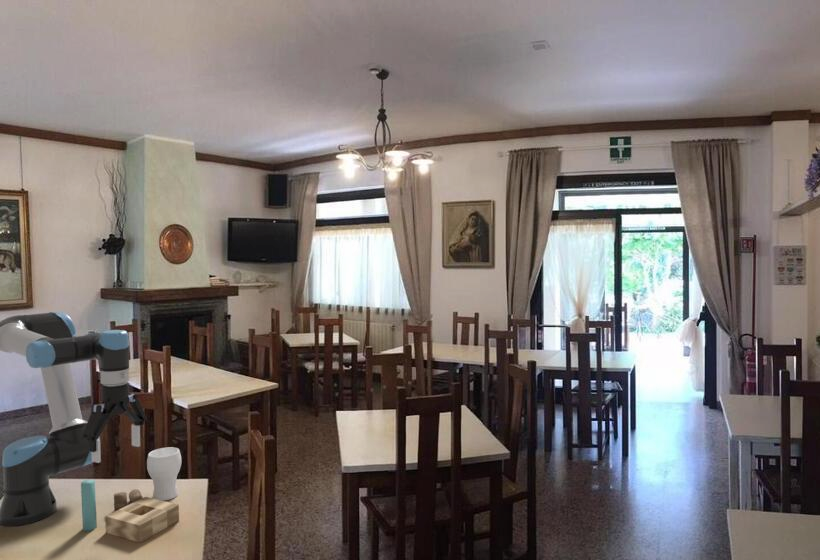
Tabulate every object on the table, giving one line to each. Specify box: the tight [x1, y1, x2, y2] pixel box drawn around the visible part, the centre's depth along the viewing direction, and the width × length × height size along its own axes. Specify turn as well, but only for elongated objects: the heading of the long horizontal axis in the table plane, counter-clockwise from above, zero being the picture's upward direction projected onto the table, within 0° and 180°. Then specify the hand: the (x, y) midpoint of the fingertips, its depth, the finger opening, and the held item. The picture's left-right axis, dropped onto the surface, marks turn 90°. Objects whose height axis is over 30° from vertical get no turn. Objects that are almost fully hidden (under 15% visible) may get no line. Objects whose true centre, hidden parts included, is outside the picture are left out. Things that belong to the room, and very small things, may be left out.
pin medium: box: [128, 488, 144, 504], centre depth 182 cm, size 4×4×8 cm
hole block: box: [104, 496, 180, 543], centre depth 167 cm, size 14×14×5 cm
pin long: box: [80, 479, 98, 532], centre depth 166 cm, size 4×4×14 cm
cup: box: [146, 446, 182, 502], centre depth 187 cm, size 11×11×15 cm
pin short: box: [113, 491, 128, 512], centre depth 178 cm, size 4×4×5 cm
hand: (116, 453), depth 166 cm, fingers open, 13 cm apart
